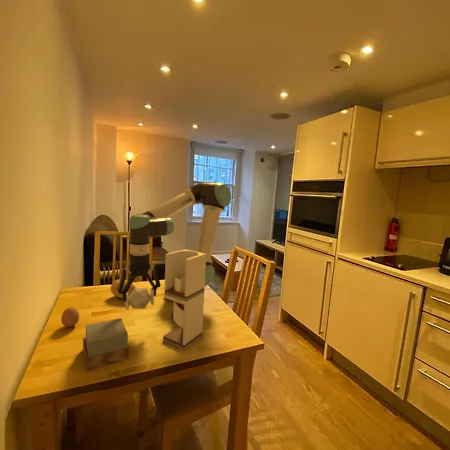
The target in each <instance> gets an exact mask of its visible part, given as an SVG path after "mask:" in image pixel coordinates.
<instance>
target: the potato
mask: <svg viewBox="0 0 450 450" xmlns="http://www.w3.org/2000/svg"><path fill="white" fill-rule="evenodd" d="M120 279H121V278H119V279H116V280H114V281H113V282H112V283H111V286H110V292H111V294H112V295H113V296H114V297H116V298H119V299H123V294H119V293H118V291H117V290H118V286H119V283H120ZM127 281H128V279H125V282H124V286H123V289H124V287H125V285H126V283H127ZM134 288H137V287H136V285H135V284H134V283H132V284H131V286H130V288H129V290H128V292H127V293H128V294H129V296H130V294H131V293H132V291H133V290H134Z"/></svg>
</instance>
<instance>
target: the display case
mask: <svg viewBox="0 0 450 450" xmlns="http://www.w3.org/2000/svg"><path fill="white" fill-rule="evenodd" d="M164 265H165V268H164V269H165V272H164V296H163V297H164V299H165V300H167V299H169V300H172V301H171V302H173V301H174V302H173V308H172V312H173V318H174V319H173V318H172V319H173V320H174V322H175V323H176V325H178V326H177V327H174V328H173V329H172V330H170V331H168V332H167V333H165V334H164V335H163V336H162V341H163V342H164V343H168V344H169V345H171V346H174V347H176V348H177V349H180V350H182V351H186V350H187V349H188V348H189V347H191V346H192V345H193V344H195V343H196V342H197V341H199V340H200V339H201V338H202V337H203V324H204V323H203V321H204V305H205V304H204V303H205V287H206V286H205V270H206V254H205V253H200V252H196V251H195V250H191V249H186V248H184V249H181V250H177V251H173V252H170V253H165V263H164ZM169 300H168V301H169Z"/></svg>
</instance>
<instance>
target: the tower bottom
mask: <svg viewBox="0 0 450 450" xmlns="http://www.w3.org/2000/svg"><path fill="white" fill-rule="evenodd" d="M82 351H83V352H82V353H83V356H84V364H85V369H86V372H89V371H92V370H96V369H99V368H103V367H107V366H110V365H113V364H118V363H119V362H123V361H124V362H125V361H128V360H129V359H130V356H129V355H130V353H129V352H130V346H129V345H128V347H127V348H123V349H119V350H115V351H111V352H107V353H103V354H99V355H95V356H91V357H88V350H87V343H86V336H84V337H82Z"/></svg>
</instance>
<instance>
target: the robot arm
mask: <svg viewBox="0 0 450 450" xmlns="http://www.w3.org/2000/svg"><path fill="white" fill-rule="evenodd" d="M231 201H232V191H231V189H230V187H229V186H228V185H227V184H225V183H222V182H221V183H220V182H198V183H196V184H193V185H191V186H189V187H187V188H185V189H183V190H182V191H181V193H180V194H178V195H175V196H174V197H172V198H170V199H168V200H166V201H164V202H162V203H160V204H158V205H157V206H155V207H154V206H153V208H150V209H149V210H147V211H145V212H143V213H141V214H140V213H133V214H132V215H130V218H128V227H129V266H128V267H122V268H121V270H120V271H121V276H120V278H119V279H120V283H119V286H118V290H117V291H118V293H119V294H123V298H122V302H124V305H125V310H126V311H129V306H130V305H129V304H130V302H129V294H128V293H127V292H128V290H129V288H130V286H131V284H133V282H134V280H135V279H136V278H138V277H139V278H140V277H144V276H145V277H146V279H147V281H148V282H149V284H150V286H151V287H150V288H149V294H150V296H151V300H150V301H149V303H150V304H151V306H154V305H155V297H156V295H157V289H158V288H161V285H162V284H161V281H160V277H159V274H158V265H157V264H155V263H153V264H151V263H150V242H151V239H150V238H157V237H162V236H165V237H166V236H168V235H172V234H173V233H174V230H175V223H174V221H173V219H172V218H170V217H172V216H173V215H175V214H176V213H177V214H178V213H179V212H180V211H182V210H184V209H186V208H187V207H193V206H195V205H198V204H199V205H200V204H201V206H202V208H203V214H202V218H201V222H200V223H201V224H200V228H199V230H198V231H199V232H198V236H197V241H196V245H195V250H194V251H196V252H200V253H205V254H206V270H205V287H208V285H210V284H211V283H212V282H213V280H214V277H215V273H216V271H215V267H214V266H213V260H212V259H211V257H212V252H213V248H214V247H213V246H214V245H215V244H214V242H215V238H216V234H217V228H218V227H219V226H218V224H219V220H220V216H221V213H222V212H223V213H224V211H225V207H228V206H229V205H230V204H231ZM150 269H151V271H152V274H153V277H154V280H153V278H151V275H150V274H149V273H148V272H149V270H150ZM129 271H130V275H129V276H128V279H126V278H127V274H128V273H129ZM125 280H128V281H127V283H126V285H125V287H124V289H123V286H124V282H125ZM154 281H155V282H154ZM166 300H167V301H170V302H173V303H174V301H172V300H169V299H166Z"/></svg>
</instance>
